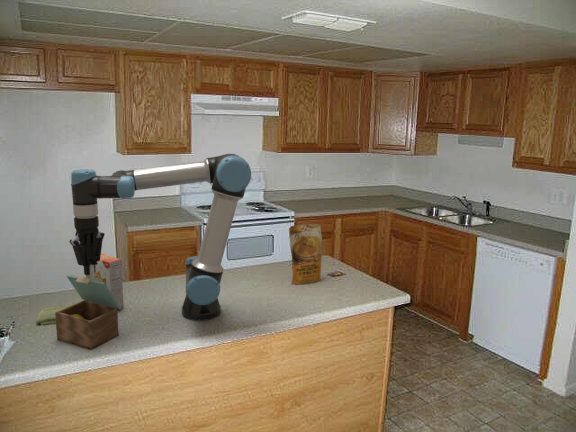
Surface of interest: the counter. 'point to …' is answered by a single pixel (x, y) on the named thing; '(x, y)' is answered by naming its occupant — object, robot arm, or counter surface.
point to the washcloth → (49, 315)
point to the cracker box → (111, 276)
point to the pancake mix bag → (306, 252)
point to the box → (87, 324)
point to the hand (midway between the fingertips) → (90, 282)
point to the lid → (93, 291)
